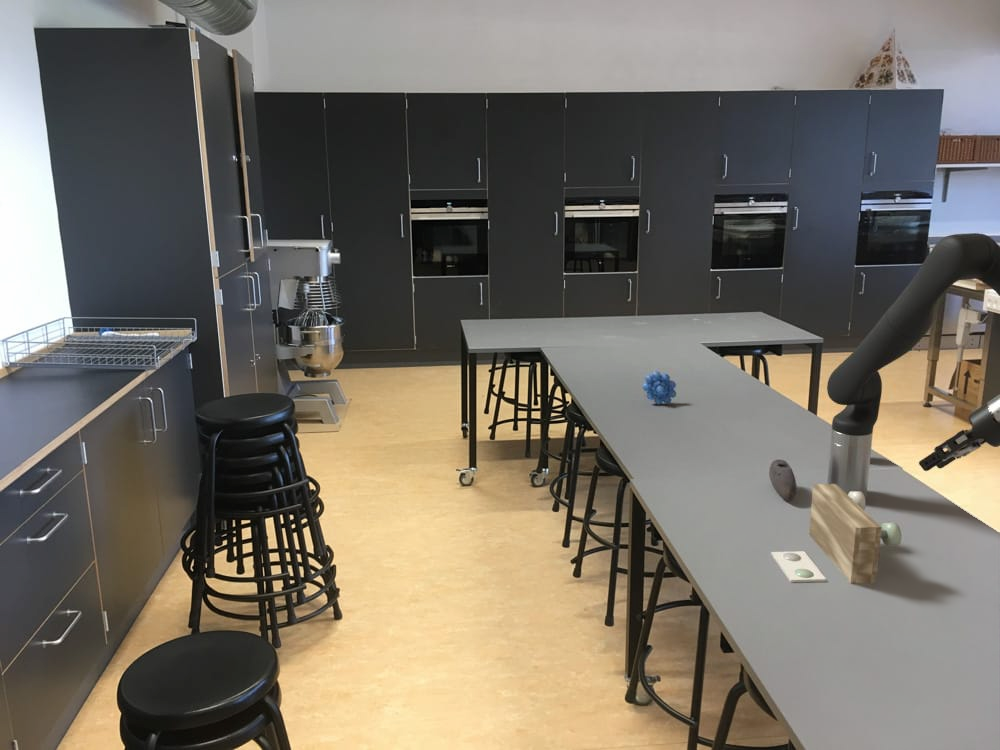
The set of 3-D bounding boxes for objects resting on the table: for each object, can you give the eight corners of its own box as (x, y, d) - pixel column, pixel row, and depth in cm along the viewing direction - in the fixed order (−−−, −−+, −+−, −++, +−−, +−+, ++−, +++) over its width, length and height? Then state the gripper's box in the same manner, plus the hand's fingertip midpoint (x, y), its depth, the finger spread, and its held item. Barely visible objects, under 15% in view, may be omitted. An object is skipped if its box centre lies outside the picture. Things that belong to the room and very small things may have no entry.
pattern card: (771, 554, 173) (771, 551, 172) (803, 553, 172) (804, 550, 172) (790, 582, 161) (790, 579, 161) (825, 581, 161) (826, 578, 161)
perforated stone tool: (800, 506, 196) (802, 480, 194) (778, 506, 197) (779, 479, 195) (788, 483, 210) (789, 458, 208) (767, 482, 211) (768, 457, 209)
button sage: (889, 539, 163) (891, 519, 162) (900, 549, 159) (902, 528, 158) (861, 539, 163) (863, 519, 162) (871, 549, 159) (873, 529, 158)
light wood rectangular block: (831, 533, 181) (835, 483, 178) (875, 582, 160) (881, 527, 157) (809, 534, 181) (813, 484, 178) (850, 583, 160) (855, 527, 157)
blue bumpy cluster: (643, 408, 277) (644, 374, 274) (641, 402, 284) (642, 369, 281) (678, 408, 276) (679, 374, 273) (675, 402, 283) (676, 369, 280)
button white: (855, 506, 179) (857, 488, 178) (864, 515, 174) (866, 496, 173) (830, 507, 179) (831, 488, 178) (838, 515, 174) (839, 496, 173)
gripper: (999, 401, 157) (927, 448, 166) (979, 401, 147) (904, 451, 155) (1027, 432, 153) (952, 479, 162) (1008, 434, 143) (930, 484, 152)
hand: (929, 465), depth 159 cm, fingers open, 8 cm apart
